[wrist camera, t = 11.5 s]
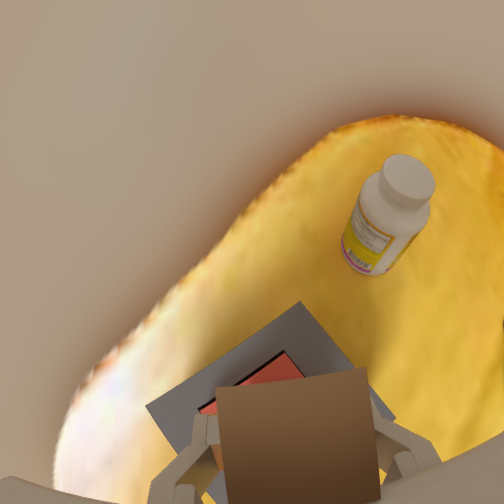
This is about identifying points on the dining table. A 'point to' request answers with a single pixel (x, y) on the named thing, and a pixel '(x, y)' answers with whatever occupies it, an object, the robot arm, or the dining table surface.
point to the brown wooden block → (299, 441)
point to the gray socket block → (245, 366)
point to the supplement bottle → (388, 215)
